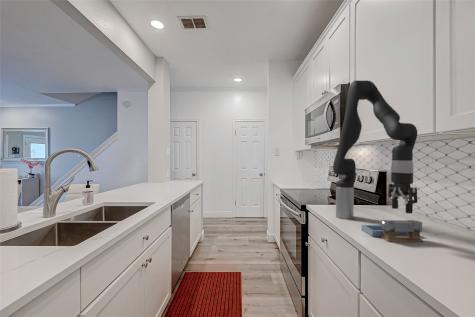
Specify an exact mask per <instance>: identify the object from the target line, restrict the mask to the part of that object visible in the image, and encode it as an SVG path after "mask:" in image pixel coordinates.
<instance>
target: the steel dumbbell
mask: <svg viewBox="0 0 475 317" xmlns="http://www.w3.org/2000/svg"><path fill="white" fill-rule="evenodd" d="M380 225H381V230H383V231H387V232H420V233H422V232H423V222H422V221H419V220H414V219H407V220H405V219H404V220H401V219H398V220H396V219H395V220H392V219H391V220H390V219H389V220H388V219H382V220H380Z"/></svg>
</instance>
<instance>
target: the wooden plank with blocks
mask: <svg viewBox="0 0 475 317" xmlns="http://www.w3.org/2000/svg"><path fill="white" fill-rule="evenodd" d="M420 235H421V232H407V236H395V232H387V231H383V236H381V237H380V238H381V239H382V240H383V241H386V242H388V243H389V242H390V243H423V242H424V240H423V239H421V237H420Z"/></svg>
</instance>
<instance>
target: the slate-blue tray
mask: <svg viewBox="0 0 475 317" xmlns="http://www.w3.org/2000/svg"><path fill="white" fill-rule="evenodd" d="M361 231H362V232H363V233H365V234H367V235H369V236H371V237H372V238H381V236H383V230H381V224H361ZM395 236H407V232H395Z"/></svg>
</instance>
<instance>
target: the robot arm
mask: <svg viewBox="0 0 475 317" xmlns="http://www.w3.org/2000/svg"><path fill="white" fill-rule="evenodd" d="M346 97H347V98H346V106H345V113H344V118H343V122H342V127H341V131H340V138H339V143H338V147H337V151H336V154H335V157H334V160H333V164H332V170H333V173H334V174H335V175H338V176H340V175H341V176H344V177H343V178H342V179H339V180H337V181H336V182H335V217H336V218H339V219H344V220H351V219H354V208H355V205H354V203H355V202H354V201H355V193H354V192H355V190H354V189H355V188H354V187H355V181H356V168H357V167H356V161H355V160H354V159H353V158H346V155H347V154H348V151H350V150H351V149H352V147H353V146H354V145H355V144H356V143H357V141H358V140H360V135H361V132H362V121H361V118H360V116H359V112H358V107H359V106H358V105H359V101H361V100H363V101H365V100H366V101H368V102H370V103H371V104H372V107H373V108H372V109H373V110H372V111H373V114H374V116H375V118H376V119H377V120H378V122H380V123H381V124H382V125H383V128H384V131H385V133H386V135H387V136H388V137H389V138H390V139H392V140H395V141H399V144H398V145H397V146H394V147H392V150H391V165H390V166H391V167H390V174H391V175H390V182H391V183H388V194H387V196H388V198H390V199H391V208H392V209H393V210H397V209H398V208H399V198H400V197H401V198H402V199H403V200H404V202H405V214H413V205H414V204H417V203H418V188H417V187H414V186H413V187H411V184H414V161H413V150H414V147H415V144H416V141H417V138H418V129H417V127H416V126H415V124H413V123H410V122H409V123H408V122H406V123H405V122H401V121H400V120H401V116H400V114H399V113H398V112H397V111H396V110H395V109H394V108H393V107H392V106H391V105H390V104H389V103H388V102H387V101H386V99H385V98H384V96H383V95H382V93H381V91H380V90H379V89H378V88H377V86H376V84H375V83H374V82H373V81H371V80H353V81H352V82H351V83H350V84H349V86H348V89H347V95H346Z"/></svg>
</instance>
